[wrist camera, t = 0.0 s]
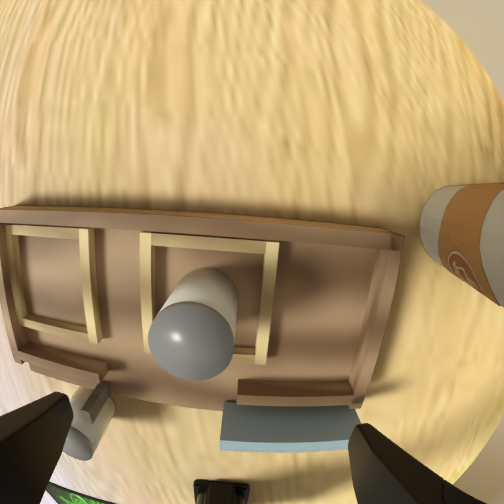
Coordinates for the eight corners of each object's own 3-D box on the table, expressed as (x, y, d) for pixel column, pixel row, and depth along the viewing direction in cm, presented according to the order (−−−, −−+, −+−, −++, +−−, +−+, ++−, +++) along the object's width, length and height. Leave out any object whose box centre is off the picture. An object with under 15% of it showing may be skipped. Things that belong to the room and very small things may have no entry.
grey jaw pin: (118, 421, 25) (97, 465, 19) (82, 411, 25) (57, 451, 19) (111, 389, 24) (84, 435, 18) (73, 380, 24) (42, 419, 18)
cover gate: (346, 420, 24) (358, 454, 19) (223, 419, 23) (219, 457, 19) (352, 402, 23) (367, 437, 19) (224, 401, 23) (220, 440, 18)
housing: (344, 404, 25) (361, 445, 19) (36, 364, 24) (8, 393, 18) (384, 228, 21) (422, 243, 16) (13, 205, 20) (-30, 213, 15)
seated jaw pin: (236, 329, 22) (231, 384, 15) (175, 323, 21) (150, 374, 15) (240, 270, 21) (236, 310, 14) (175, 265, 20) (145, 301, 14)
